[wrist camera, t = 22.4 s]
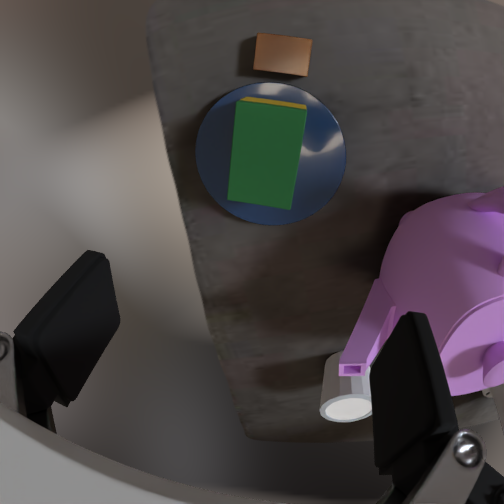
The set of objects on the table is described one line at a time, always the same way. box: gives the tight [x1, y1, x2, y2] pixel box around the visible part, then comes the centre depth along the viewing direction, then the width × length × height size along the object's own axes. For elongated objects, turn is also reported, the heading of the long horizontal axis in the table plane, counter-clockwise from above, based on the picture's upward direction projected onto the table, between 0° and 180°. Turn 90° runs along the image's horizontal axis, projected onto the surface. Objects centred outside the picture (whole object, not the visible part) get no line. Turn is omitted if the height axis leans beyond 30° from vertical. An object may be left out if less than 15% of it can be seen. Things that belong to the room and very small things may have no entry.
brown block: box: [253, 33, 312, 77], centre depth 20 cm, size 4×3×1 cm
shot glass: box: [320, 351, 372, 422], centre depth 34 cm, size 7×7×7 cm
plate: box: [195, 82, 346, 225], centre depth 25 cm, size 12×12×1 cm
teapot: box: [339, 187, 504, 396], centre depth 21 cm, size 20×20×15 cm
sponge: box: [227, 97, 307, 210], centre depth 22 cm, size 4×7×4 cm, turn 174°
